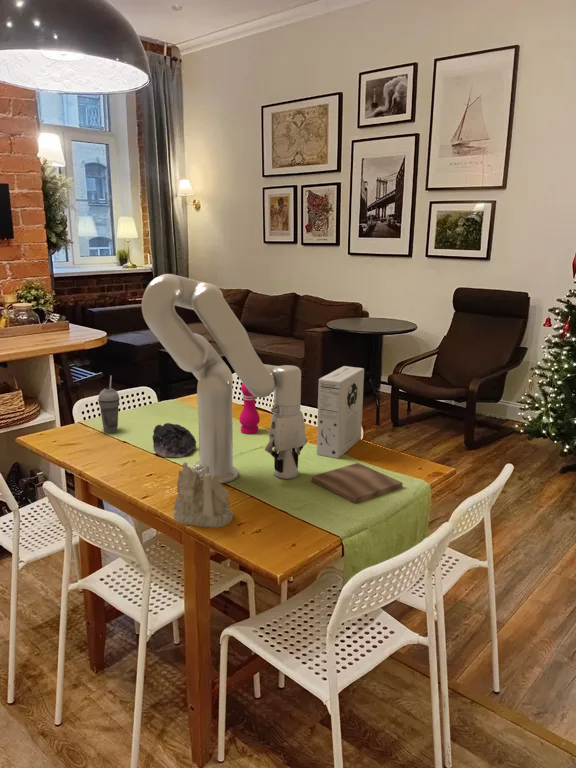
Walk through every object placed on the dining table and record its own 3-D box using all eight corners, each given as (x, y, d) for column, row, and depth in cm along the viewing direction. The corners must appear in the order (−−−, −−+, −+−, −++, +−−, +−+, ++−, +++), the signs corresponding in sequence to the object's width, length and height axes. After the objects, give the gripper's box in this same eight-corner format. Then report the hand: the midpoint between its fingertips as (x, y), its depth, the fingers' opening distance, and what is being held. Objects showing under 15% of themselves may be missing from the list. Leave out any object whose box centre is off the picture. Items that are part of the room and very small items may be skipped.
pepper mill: (259, 434, 208) (259, 379, 204) (238, 434, 209) (238, 378, 204) (260, 428, 216) (260, 374, 211) (240, 427, 216) (240, 374, 211)
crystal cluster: (204, 452, 193) (204, 422, 192) (171, 461, 182) (171, 429, 181) (177, 446, 201) (176, 417, 200) (144, 454, 191) (143, 423, 190)
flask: (288, 481, 169) (289, 448, 167) (268, 475, 174) (269, 442, 171) (303, 474, 175) (304, 441, 173) (283, 468, 179) (284, 436, 177)
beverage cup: (102, 428, 213) (98, 373, 208) (123, 427, 214) (120, 373, 209) (98, 434, 206) (94, 378, 201) (119, 434, 207) (116, 378, 202)
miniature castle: (219, 531, 140) (218, 470, 138) (160, 521, 146) (158, 462, 144) (248, 508, 155) (248, 452, 152) (193, 499, 161) (192, 445, 158)
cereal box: (340, 435, 209) (343, 365, 203) (361, 438, 206) (364, 368, 200) (316, 454, 190) (318, 378, 184) (338, 458, 187) (341, 381, 181)
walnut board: (355, 503, 156) (355, 498, 156) (311, 481, 170) (311, 476, 170) (402, 487, 167) (402, 482, 166) (357, 467, 180) (357, 462, 180)
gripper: (270, 417, 162) (270, 480, 166) (318, 407, 172) (316, 466, 176) (255, 410, 167) (254, 471, 172) (302, 401, 177) (301, 459, 182)
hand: (286, 468), depth 174 cm, fingers closed on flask, 4 cm apart
